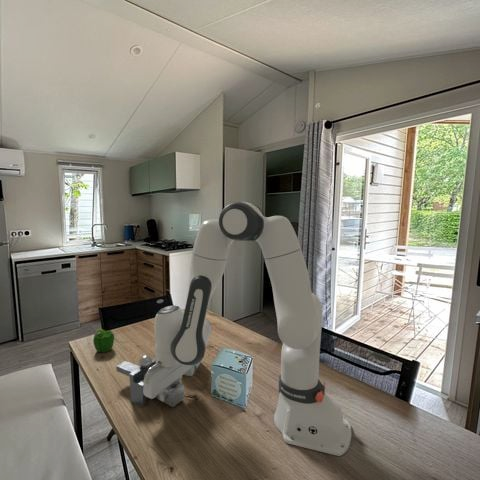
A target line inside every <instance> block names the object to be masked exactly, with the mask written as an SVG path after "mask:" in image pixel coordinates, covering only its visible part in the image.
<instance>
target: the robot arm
mask: <svg viewBox="0 0 480 480" xmlns="http://www.w3.org/2000/svg"><path fill="white" fill-rule="evenodd" d="M234 241H236V242H237V241H239V242H243V241H244V242H257V243H258V245H259V247H260V250H261V253H262V256H263V258H264V263H265V267H266V269H267V273H268V277H269V279H270V284H271V287H272V288H271V289H272V294H273V295H272V296H273V303H274V308H275V315H276V321H277V323H276V324H277V334H278V335H277V336H278V337H279V339H280V341H281V342H282V347H281V350H280V351H281V352H280V353H281V354H280V355H281V357H280V374H279V377H278V393H279V396H278V400H277V401H278V402H277V406H276V409H275V413H274V415H273V422H274V425H275V426H276V428H277V429H278V431H280V434H282V437H283V441H284V442H285V443H286V444H289V445H292V446H297V447H301V448H306V449H309V450H312V451H316V452H321V453H325V454H329V455H333V456H336V457H337V456H338V457H341V456H342V455H345V453H346V452H348V450H349V448H350V445H351V441H352V427H351V424H350V422H349V421H348V419H347V418H344V415H343V411H342V408H341V406H340V405H339V404H338V403H337V402H335V401H334V399H332V398H331V397H330V396H329V395H328V394H327V393H326V392H325V391H326V381H323V383H322V382H321V381H320V379H319V373H320V371H319V370H320V369H319V368H320V355H321V354H320V352H321V340H322V326H323V311H324V310H323V305H322V303H321V300H320V298H319V297H318V296H317V295H316V294H315V293H314V292H312V287H311V281H310V274H309V270H308V268H307V264H306V261H305V257H304V254H303V250H302V246H301V244H300V242H299V238H298V236H297V233H296V231H295V228H294V227H293V225H292V223H291V221H290V220H289V219H288V218H287V217H285V216H284V215H273V216H268V217H267V216H265V214H264V212H263V211H262V210H261V208H260V207H258V206H257V205H255V204H252V203H250V202H247V201H234V202H232V203H229V204H227V205H226V206H225V207H223V209H222V210H221V212H220V214H219V217H218V219H216V218H215V219H213V218H212V219H207V220H204V221H203V222H201V224H200V226H199V229H198V231H197V233H196V237H195V240H194V242H193V248H192V252H191V259H190V269H189V270H190V271H189V283H188V290H187V291H188V293H187V297H186V303H185V308H184V310H183V308H181V307H180V306H179V305H168V306H165V307H163V308H160V310H159V311H157V312H156V314H155V319H154V332H153V333H154V339H155V345H154V358H155V362H156V364H155V365H153V366H152V367H150V368H149V369H148V371H147V373H146V374H145V377H144V385H143V394H144V395H145V396H146V398H147V399H151V400H152V399H153V400H154V399H155V398H156V396H157V395H159V399H160V400H159V399H158V400H159V401H161V402H162V403H164V402H163V401H164V400H166V399H167V394H164V393H163V392H164V390H165V389H166V388H167V387H168V386H169V385H171V384H172V383H173V382H174V381H177V382H179V383H181V381H182V379H183V376H184V375H183V374H184V373H186V372H187V371H188V370H189V369H191V367H192V365H194V364H197V363H199V362H200V361H201V362H202V360H203V359H204V358H205V355H206V348H207V346H208V344H209V340H210V338H211V335H212V332H213V331H212V329H213V328H212V324H211V322H210V321H209V320H208V319H207V311H208V307H209V304H210V300H211V299H212V296H213V295H214V292H215V291H216V289H217V288H218V285H219V284H220V282H221V280H222V277H223V275H224V273H225V270H226V266H227V264H228V258H229V254H230V250H231V246H232V244H233V242H234Z"/></svg>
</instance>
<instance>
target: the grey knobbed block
mask: <svg viewBox="0 0 480 480" xmlns="http://www.w3.org/2000/svg"><path fill="white" fill-rule="evenodd" d="M163 393H164V394H167V399H166V400H164V401H163V402H162V403H164V404H166V405H168V406H170V407H172V408H174V407H176V406H177V404H179V403H180V402H182V401H183V400H184V399H185V385H184V383H181V382H180V383H179V382H177V381H174V382H173V383H172V384H171V385H169V386H168V387H167V388H166V389H165V390H164V392H163ZM155 398H156V399H157V400H159V401H160V399H159V395H157V396H156V397H155Z"/></svg>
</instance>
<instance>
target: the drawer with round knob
mask: <svg viewBox="0 0 480 480" xmlns="http://www.w3.org/2000/svg"><path fill="white" fill-rule="evenodd" d="M155 364H156V362H155V357H153V358H152V356H150V355H148V354H147V355H146V354H145V355H143V356H141V357H140V359H139V361H138V365H137V364H134V363H132V362H129V361H127V360H124V361H123V362H121V363H119V364H118V365H116V366H115V367H116V372H118V373H121V374H123V375H125V376H126V377H129V388H130V389H129V391H130V403H132V404H134V405H137V406H139V407H141V408H145V407H146V406H147V397H146V396H145V395H144V394H143V385H144V377H145V374H146V373H147V371H148V369H149V368H150V367H152V366H153V365H155Z"/></svg>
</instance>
